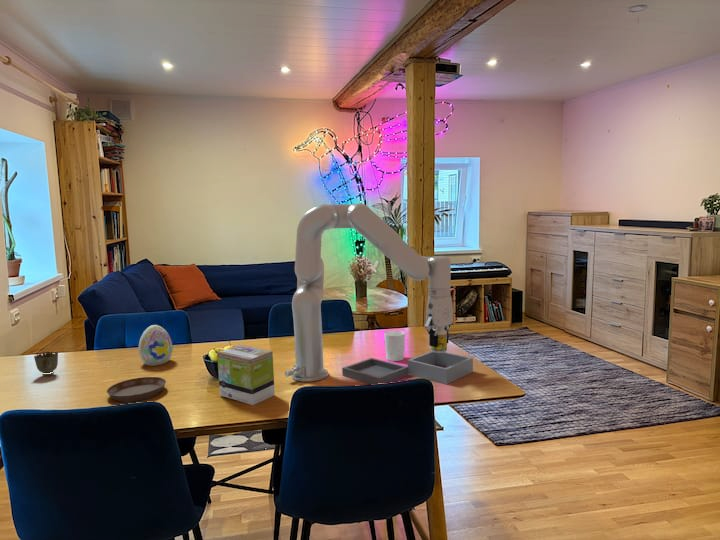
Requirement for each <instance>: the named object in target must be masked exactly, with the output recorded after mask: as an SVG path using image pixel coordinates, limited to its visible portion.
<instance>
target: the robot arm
mask: <svg viewBox="0 0 720 540" xmlns="http://www.w3.org/2000/svg"><path fill="white" fill-rule="evenodd" d="M330 229H354V230H355V231H356V232H357V233H358V234H359V235H360V236H362V237H364V238H365V240H367V242H369V243H370V244H371V245H372V246H373V247H374V248H375V249H377V250H378V252H380V253H381V254H382V255H384V256H385V257H386V258H387V259H389V260H390V261H391V262H392V263H393V264H394V265H395V266H397V267H398V268H399V269H400V270H401V271H402V272H404V274H405V275H406V276H407V277H409V278H410V279H412V280H413V281H417V282H418V281H419V282H420V281H424V280H425V279H427V302H426V310H425V311H426V315H425V319H426V321H425V324H424V329H425V330H426V331H427V335H428V336H429V338H428V339H429V347H431V346H433V347H438V335H437V331H438V328H440V327H443V326H445V328H444V329H445V330H446V331H447V344H449V343H450V342H449V334H450V333H449V332H450V328H451V326H452V324H453V322H454V307H453V297H452V295H451V280H452V279H451V273H452V271H451V266H452V265H451V264H452V263H451V258H450V257H449V256H446V255H445V256H444V255H434V256H424V255H420V254H419V253H418V252H416V250H414V248H412V247H411V246H410V245H409V244H408V243H407V242H406V241H405V240H403V238H402V237H401V235H399V233H397V231H396V230H395V229H393V228H392V227H391V226H390V225H389V224H388V223H387V222H386V221H384V219H382V218H381V217H380V216H379V215H378V214H377V213H376V212H374V210H372V209H371V208H369V206H367V205H366V204H364V203H360V202H359V203H348V204H347V203H346V204H326V203H324V204H319V205H317V206H315V207H312V208H311V209H309V210H307V212H305V213H304V214H303V216H302V217H301V218H300V220H299V222H298V224H297V228H296V237H295V238H296V239H295V240H296V243H295V254H294V255H295V256H294V257H295V258H294V259H295V260H294V273H295V276H296V278H297V279H296V280H297V281H296V284H297V285H296V291H295V292H294V294H293V296H292V300H291V309H292V317H293V331H294V332H293V333H294V351H295V355H294V356H295V364H293V365H292V366H293V368H291V369H288V370H285V371H284V376H285V377H286V378H287V377H291V378H292V379H293V380H295V381H298V382H304V383H305V382H306V383H307V382H308V383H309V382H311V383H312V382H316V381H321V380H324V379H326V378H327V377H328V376H329V371H328V370H327V368H324V348H323V346H324V345H323V327H322V325H323V324H322V322H323V321H322V312H321V311H322V307H321V306H322V305H321V304H322V301H323V299H324V284H325V283H324V278H325V277H324V276H325V265H324V264H325V263H324V261H323V258H322V255H321V254H322V237H323V236H322V235H323V234H324V232H325V231H326V230H330ZM433 324H434V326H433ZM434 328H435V329H434ZM433 329H434V330H433Z"/></svg>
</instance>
